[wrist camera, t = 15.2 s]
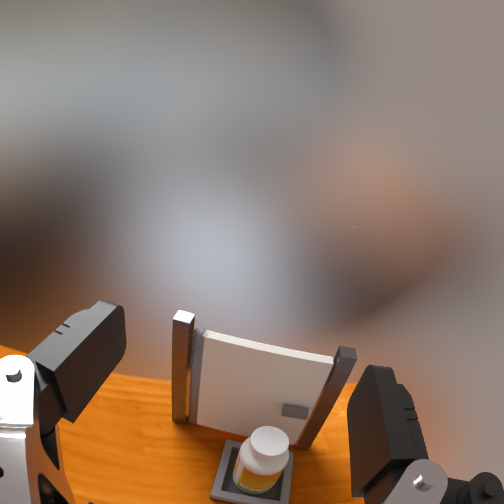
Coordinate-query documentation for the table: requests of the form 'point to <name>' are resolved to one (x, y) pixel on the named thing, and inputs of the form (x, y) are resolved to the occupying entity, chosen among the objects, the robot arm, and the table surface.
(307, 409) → the door
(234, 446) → the shallow tray
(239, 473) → the supplement bottle
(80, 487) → the table surface
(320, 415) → the door frame
